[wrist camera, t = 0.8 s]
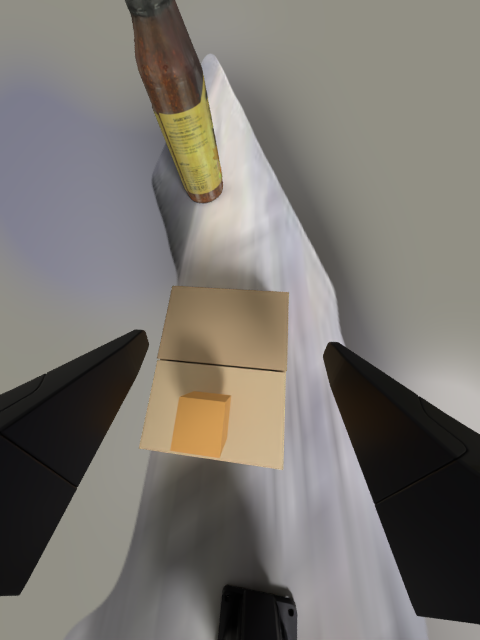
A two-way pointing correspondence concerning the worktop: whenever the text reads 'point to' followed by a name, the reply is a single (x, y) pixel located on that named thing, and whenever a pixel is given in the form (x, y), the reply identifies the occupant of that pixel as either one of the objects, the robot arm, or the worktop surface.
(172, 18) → the sauce bottle
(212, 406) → the pull drawer
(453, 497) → the robot arm
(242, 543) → the worktop surface
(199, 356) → the carton
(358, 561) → the worktop surface
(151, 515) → the worktop surface
